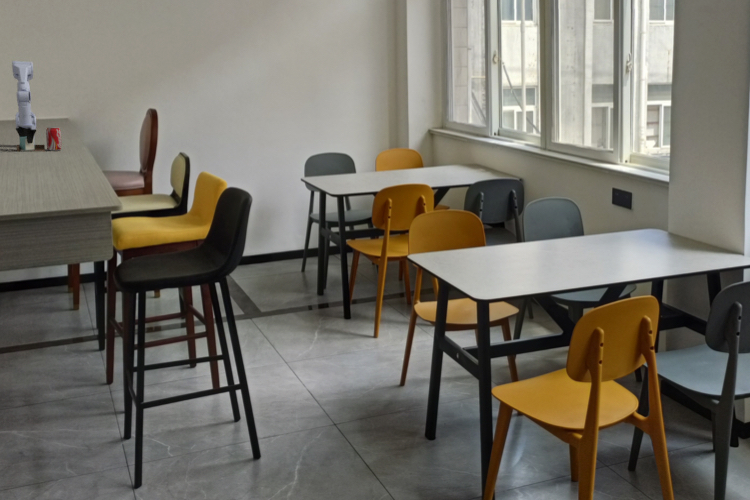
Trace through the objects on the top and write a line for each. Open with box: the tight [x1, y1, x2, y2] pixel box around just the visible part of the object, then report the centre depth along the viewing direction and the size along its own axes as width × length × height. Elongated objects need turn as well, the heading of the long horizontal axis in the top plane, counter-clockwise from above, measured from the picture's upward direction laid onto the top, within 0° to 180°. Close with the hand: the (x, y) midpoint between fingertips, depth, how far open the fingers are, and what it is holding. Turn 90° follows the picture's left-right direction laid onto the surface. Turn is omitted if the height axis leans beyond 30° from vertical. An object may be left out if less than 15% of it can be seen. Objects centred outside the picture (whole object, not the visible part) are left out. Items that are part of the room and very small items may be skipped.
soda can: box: [45, 125, 63, 152], centre depth 392 cm, size 7×7×12 cm
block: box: [19, 137, 36, 150], centre depth 387 cm, size 5×5×6 cm
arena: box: [15, 144, 46, 152], centre depth 389 cm, size 8×13×2 cm, turn 113°
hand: (26, 142), depth 387 cm, fingers open, 6 cm apart
